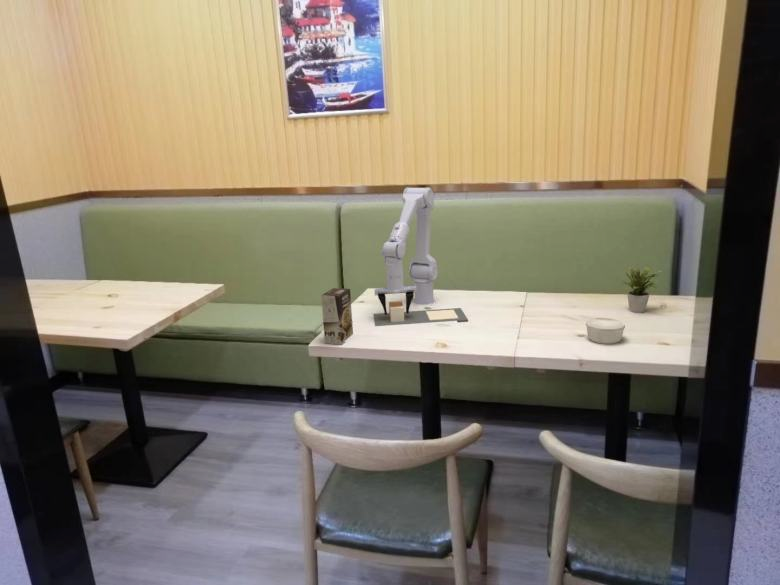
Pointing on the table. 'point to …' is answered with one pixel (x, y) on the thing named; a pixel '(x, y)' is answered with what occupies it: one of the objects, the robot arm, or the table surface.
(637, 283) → the house plant
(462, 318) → the mat
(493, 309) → the table surface
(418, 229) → the robot arm
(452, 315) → the pad
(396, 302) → the card box
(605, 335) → the ramekin
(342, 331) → the coffee box
